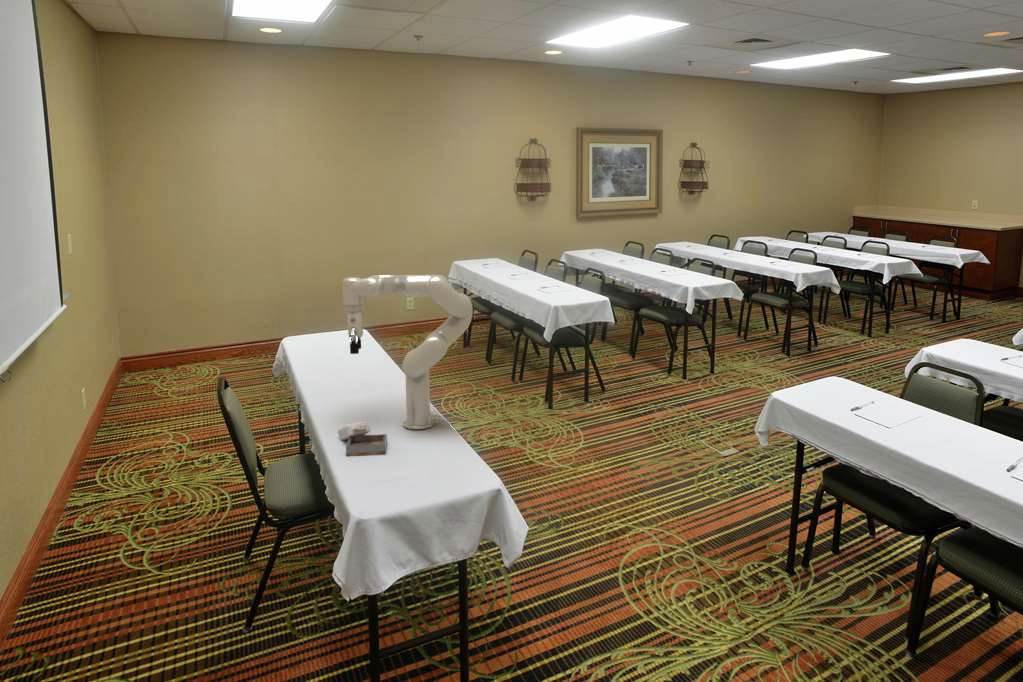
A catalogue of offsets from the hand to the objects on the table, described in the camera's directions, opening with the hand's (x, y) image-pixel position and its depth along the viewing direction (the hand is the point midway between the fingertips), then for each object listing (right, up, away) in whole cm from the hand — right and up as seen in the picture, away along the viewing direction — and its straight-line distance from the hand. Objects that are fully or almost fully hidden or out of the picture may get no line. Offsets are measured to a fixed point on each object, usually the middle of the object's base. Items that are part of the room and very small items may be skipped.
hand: (355, 351), depth 264 cm
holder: (+8, -37, -16) cm, 41 cm away
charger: (+7, -28, -15) cm, 32 cm away
